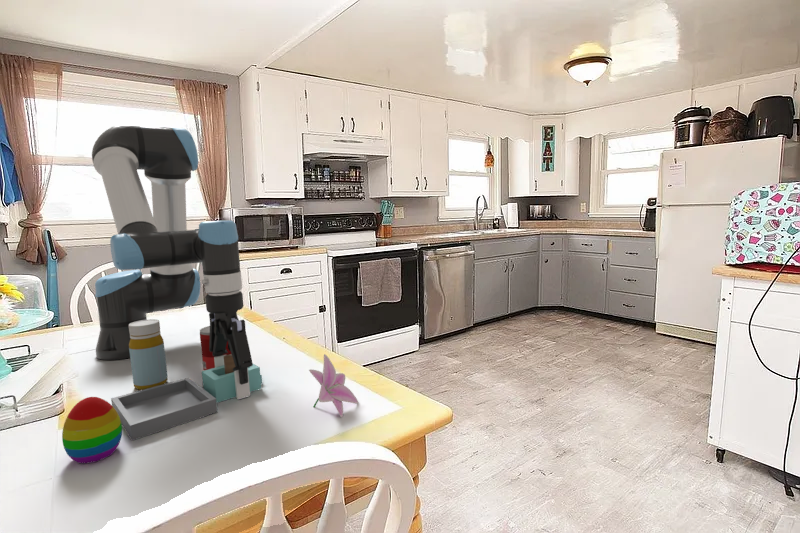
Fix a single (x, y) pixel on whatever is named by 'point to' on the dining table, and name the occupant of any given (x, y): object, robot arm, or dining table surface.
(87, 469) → the dining table surface
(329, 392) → the lily
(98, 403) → the decorative egg
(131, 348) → the bottle
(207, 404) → the tray
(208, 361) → the canned food
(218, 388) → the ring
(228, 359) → the post
